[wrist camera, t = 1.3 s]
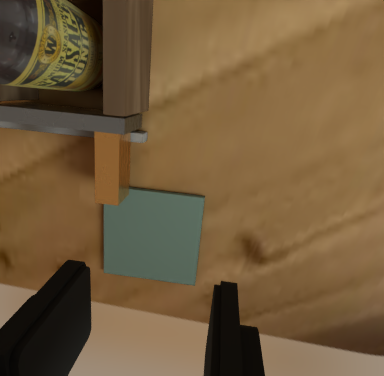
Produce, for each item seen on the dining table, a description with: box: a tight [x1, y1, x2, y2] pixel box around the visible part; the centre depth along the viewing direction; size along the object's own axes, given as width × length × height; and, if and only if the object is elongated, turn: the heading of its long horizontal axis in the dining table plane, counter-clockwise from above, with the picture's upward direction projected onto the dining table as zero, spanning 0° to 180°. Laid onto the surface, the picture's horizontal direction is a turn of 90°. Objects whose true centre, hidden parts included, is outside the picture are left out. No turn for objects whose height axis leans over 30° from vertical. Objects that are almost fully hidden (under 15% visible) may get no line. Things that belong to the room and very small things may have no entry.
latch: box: [0, 102, 142, 206], centre depth 26 cm, size 11×7×5 cm, turn 85°
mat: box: [104, 187, 205, 286], centre depth 31 cm, size 10×10×1 cm
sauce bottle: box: [0, 0, 103, 92], centre depth 17 cm, size 6×6×20 cm
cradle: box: [0, 0, 153, 143], centre depth 24 cm, size 20×13×7 cm, turn 85°
